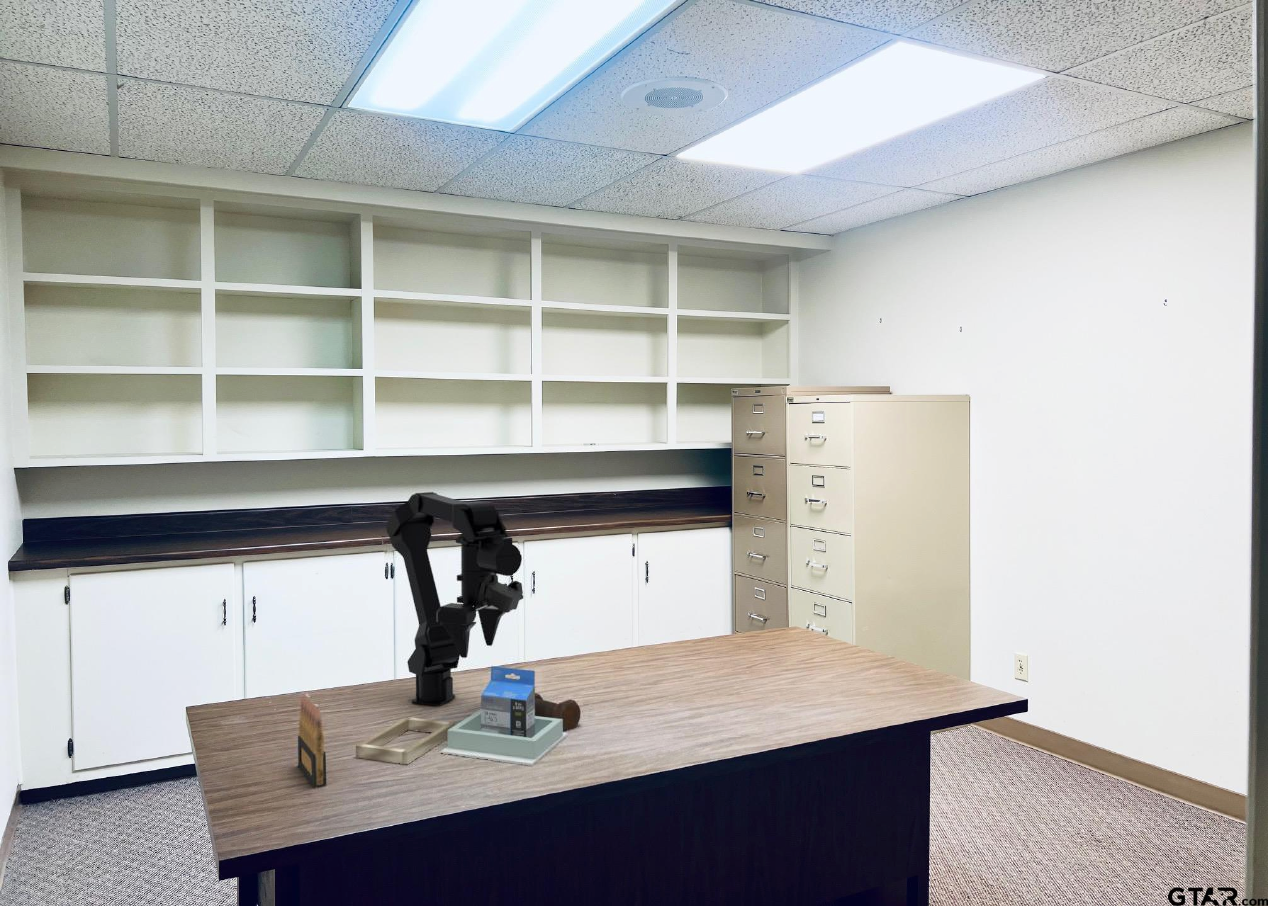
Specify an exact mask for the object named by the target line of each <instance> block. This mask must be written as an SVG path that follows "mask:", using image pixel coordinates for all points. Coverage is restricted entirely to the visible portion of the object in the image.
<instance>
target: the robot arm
mask: <svg viewBox="0 0 1268 906" xmlns="http://www.w3.org/2000/svg"><path fill="white" fill-rule="evenodd" d="M437 519H440V520H443V521H446V522H449V523H451V528H453V529H454V530H456V532H459V533H460V535H459V536H458V537H457V538H455V543H456V544H460V545H461V546H460V549H461V550H460V551H461V552H460V554H461V555H460V561H461V562H460V565H461V567H460V569H461V572H460V574H457V575H456V581H457V582H461V585H460V586H461V589H460V590H461V593H460V594H461V595H460V596H457V597H456V603H455V602H454V603H453V602H450V603H446V604H444V605H442V606H441V602H440V598H439V594H438V589H437V585H436V582H435V577H434V573H433V569H432V565H431V562H430V558H429V553H428V549H429V546H430V542H431V540H432V531H431V529H432V528H433V526H434V525H435V524H436V522H437ZM385 527H386V530H385V531H386V534H387V535H388V537H389V540H390V543H391V546H392V548H393V549H395V550H396V552H397V553H399V555H400V556H401V557H402V558H403V562H404V566H405V570H406V575H407V579H408V583H409V587H410V592H411V597H412V600H413V604H414V609H415V612H416V617H417V620H418V628H417V630H416V634H415V636H414V647H415V649H414V650H413V652H412V654H411V655H410V657H409V659H408V660H407V667H408V672H409V673H412V674H414V675H415V698H413V699H411V703H412V704H418V705H419V704H420V705H425V706H435V707H439V706H442V705H444V704H446V703H448V701H451V700H452V698H453V699H454V698H456V694H454V687H453V686H454V685H453V684H454V681H453V680H454V679H453V677H452V670H453V669H458V667H459V661H460V658H462V659H465V658H467V657H468V653H469V648H470V647H469V645H470V644H469V643H470V637H471V636H470V635H471V630H472V629H473V627H474V626H475V625H476V624H477V621H475V619H476V617H477V614H478V618H479V621H480V625H481V629H482V633H483V637H484V638H483V639H484V641H485V644H486V645H485V646H487V647H488V646H489V647H492V646H493V644H494V640H495V637H496V634H497V630H498V627H499V624H500V621H501V618H502V616H504V615H505V614H509V613H510V612H511V611H512V610H517V608H518V606H519V603H520V601H521V600H523V599H524V595H523V594H524V591H523V585H522V582H519V581H518V580H514V581H511V582H510V583H509V584H508V583H506V582H505V583H501V582H499V575H500V576H506V577H510V576H513V575H515V573H517V572H518V571H519V569H520V567H521V565H522V558H523V557H522V554H521V550H520V549H519V548H518V546H516V545H514V544H513V538H512V537H509V535H508V533H507V528H506V526H505V525H504V523H503V520H502V519H501V516H500V514H499V511H498V510H497V508H496V504H494V503H493V502H492V501H467V502H466V501H462V500H459V499H455V498H450V497H447V496H444V495H440V494H438V493H436V492H434V491H429V492H428V491H425V492H415V493H414V494H412V495H411V496H410V497H409V498H408V500H407V501H406V502H404V503H403V504H401V505H400V506H398V507H397V508H395V509H394V510H393V512H392V514H391V515H390V517H389V518H388V519H387V522H386V524H385ZM477 612H478V613H477Z"/></svg>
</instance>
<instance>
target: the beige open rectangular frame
mask: <svg viewBox="0 0 1268 906" xmlns="http://www.w3.org/2000/svg"><path fill="white" fill-rule="evenodd" d="M455 725H456V723H455V722H449V721H441V720H432V719H425V718H424V719H423V718H417V717H408V716H407V717H405V718H403V719H401V720H399V721H397V722H395V723H394V724H392V725H390V726H388V727H387V728H384V729H383V730H381V731H380V732H378V733H376V734H374V735H372V736H370V737H369V738H366V739H365V740H363V741H361V742H359V743H357V744H356V745H355V758H356V759H357V758H358V759H364V760H371V761H377V762H378V761H379V762H386V763H392V764H399V763H400V764H401V765H406V764H408V765H409V763H410V764H411V763H413V762H414V761H415V759H416V758H417V759H419V758H420V757H422V756H423V755H425V754H426V752H427V753H428V752H430V751H431V750H433V749H434V748H436V747H437V746H439V745H440V744H442V743H444V742H445V741H447V740H448V732H447V730H449V729H450V728H452V727H454V726H455ZM407 730H408V731H410V730H417V731H421V732H420V733H425V732H431V733H429V735H428V736H425V737H424V738H423V739H421V740H419V741H418V742H416V743H414V744H413V745H411V746H409V747H408V748H406V749H402V748H396V747H388V746H384V745H386V744H387V742H388V743H389V741H390V742H391V741H393V740H395V739H397V738H398V737H400V736H402V735H404V734H405V733H406V732H405V731H407ZM408 731H407V732H408ZM417 731H416V732H417ZM404 732H405V733H404ZM401 734H402V735H401ZM399 735H400V736H399ZM446 739H447V740H446ZM443 741H444V742H443ZM441 742H442V743H441ZM438 744H439V745H438ZM435 746H436V747H435ZM433 747H434V748H433ZM432 748H433V749H432ZM430 749H431V750H430ZM429 750H430V751H429ZM424 753H425V754H424ZM422 754H423V755H422ZM418 757H419V758H418ZM417 759H416V760H417ZM412 761H413V762H412Z"/></svg>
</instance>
